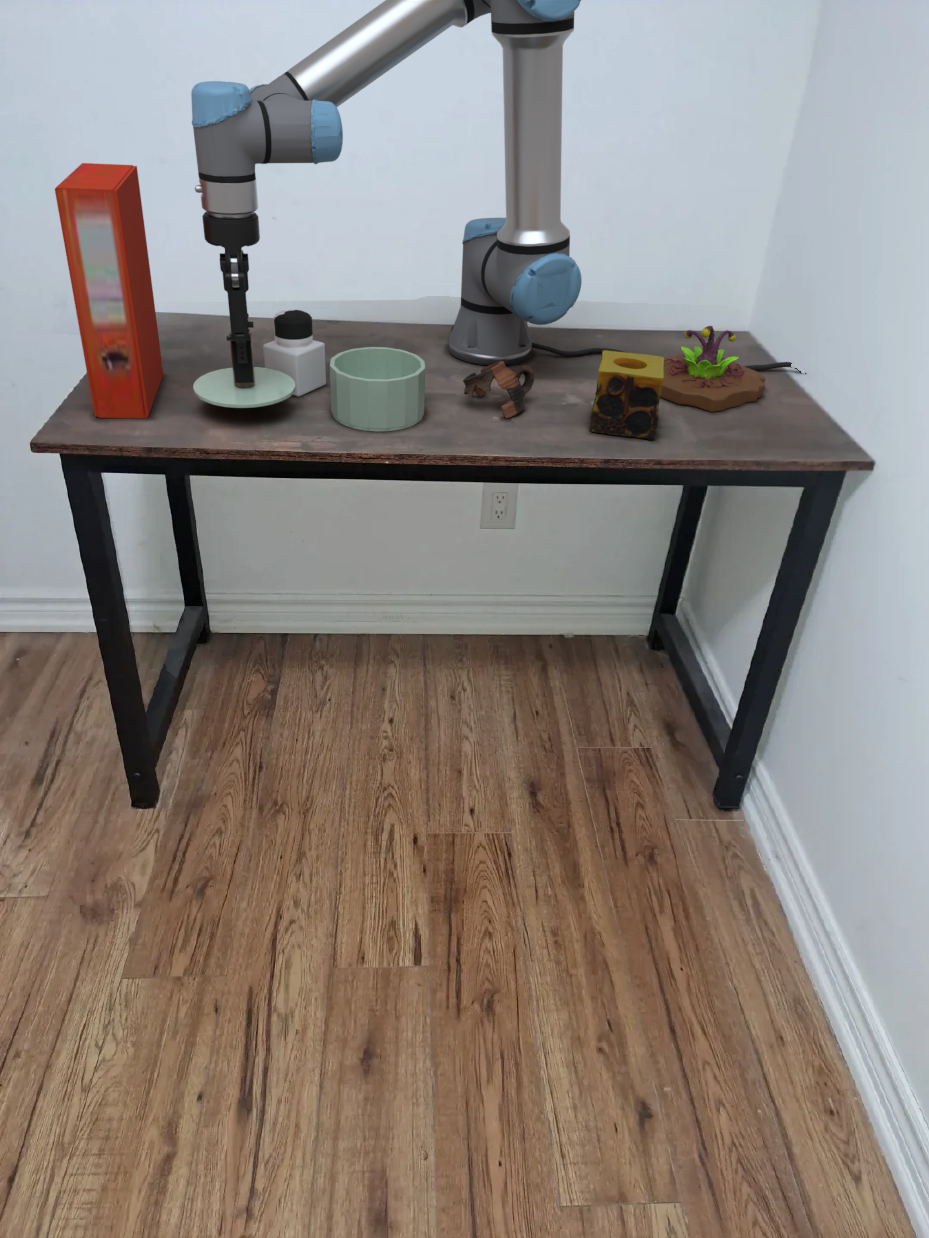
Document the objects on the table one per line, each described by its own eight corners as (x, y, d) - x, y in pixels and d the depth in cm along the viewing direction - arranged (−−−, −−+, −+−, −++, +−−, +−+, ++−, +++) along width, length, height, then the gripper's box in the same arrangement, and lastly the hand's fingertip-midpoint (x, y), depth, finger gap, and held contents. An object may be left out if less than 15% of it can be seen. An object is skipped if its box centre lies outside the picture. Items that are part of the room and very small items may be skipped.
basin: (401, 390, 156) (402, 343, 151) (438, 423, 145) (440, 374, 141) (319, 401, 150) (316, 352, 145) (351, 437, 140) (350, 386, 135)
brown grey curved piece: (495, 427, 146) (473, 378, 144) (468, 431, 155) (447, 384, 152) (554, 395, 150) (534, 346, 148) (525, 400, 159) (506, 354, 156)
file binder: (165, 376, 155) (136, 164, 137) (150, 418, 142) (116, 189, 123) (115, 375, 154) (78, 163, 136) (95, 418, 140) (51, 187, 122)
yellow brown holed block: (654, 442, 144) (665, 379, 138) (588, 433, 145) (597, 371, 139) (656, 416, 152) (667, 356, 146) (594, 408, 153) (602, 348, 147)
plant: (620, 384, 162) (630, 320, 156) (680, 359, 175) (692, 298, 168) (721, 420, 152) (736, 352, 145) (778, 390, 164) (794, 327, 157)
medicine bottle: (327, 385, 156) (324, 312, 149) (298, 397, 151) (294, 323, 144) (294, 374, 159) (290, 303, 152) (265, 387, 154) (259, 313, 147)
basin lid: (278, 369, 152) (274, 312, 147) (309, 404, 141) (306, 344, 136) (183, 380, 146) (176, 321, 141) (208, 417, 135) (201, 355, 130)
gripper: (203, 198, 134) (219, 358, 148) (200, 226, 121) (218, 398, 135) (256, 199, 136) (267, 357, 149) (259, 226, 123) (271, 397, 136)
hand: (244, 376), depth 142 cm, fingers closed on basin lid, 3 cm apart
